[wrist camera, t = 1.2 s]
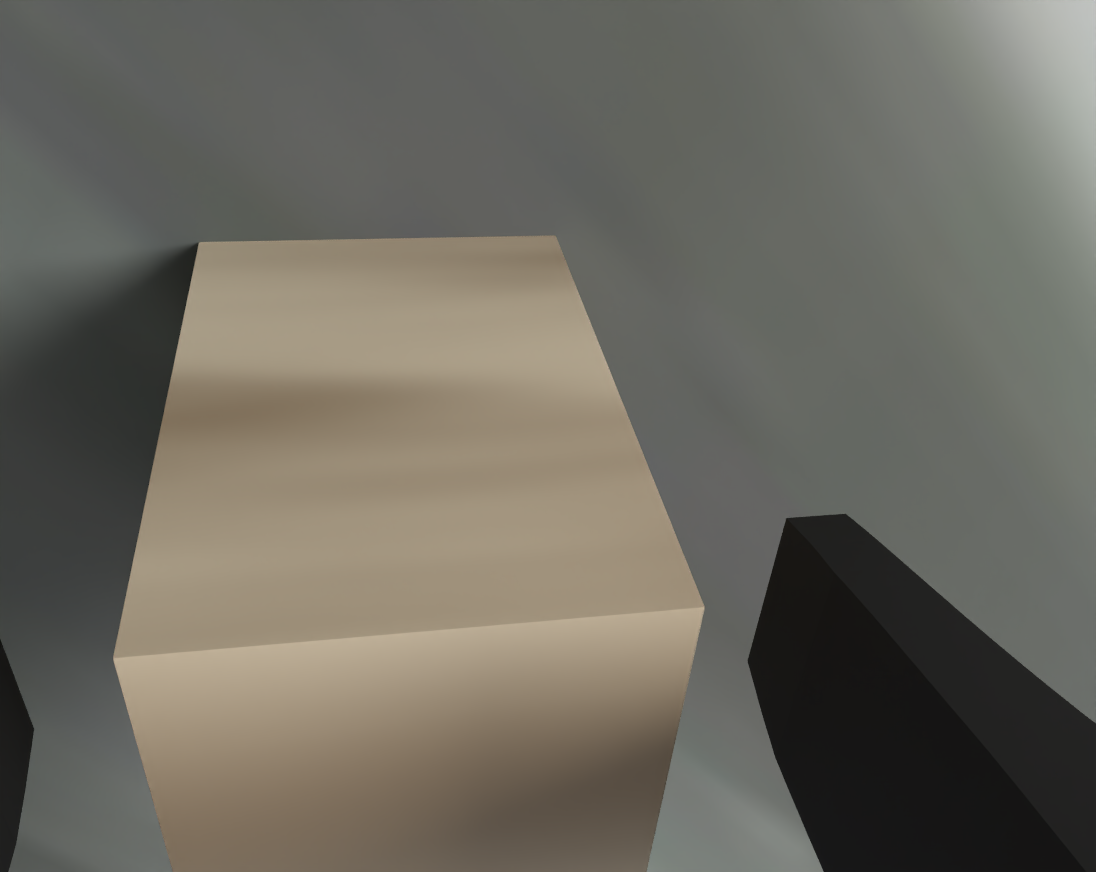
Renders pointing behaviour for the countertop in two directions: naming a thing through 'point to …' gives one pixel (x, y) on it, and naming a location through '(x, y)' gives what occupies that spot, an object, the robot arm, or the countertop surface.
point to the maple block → (401, 571)
